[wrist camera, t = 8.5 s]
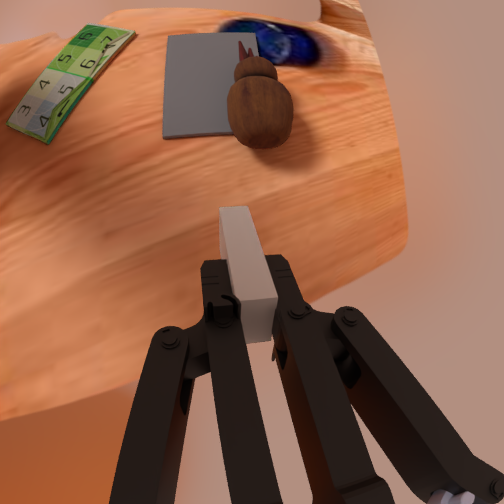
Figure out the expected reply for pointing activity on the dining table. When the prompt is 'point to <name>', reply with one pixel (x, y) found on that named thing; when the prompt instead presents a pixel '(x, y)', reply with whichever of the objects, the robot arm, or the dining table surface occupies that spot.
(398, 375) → the robot arm
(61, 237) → the dining table surface
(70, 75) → the green number grid board
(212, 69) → the charcoal rubber mat
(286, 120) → the wooden figurine
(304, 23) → the dining table surface
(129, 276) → the dining table surface
